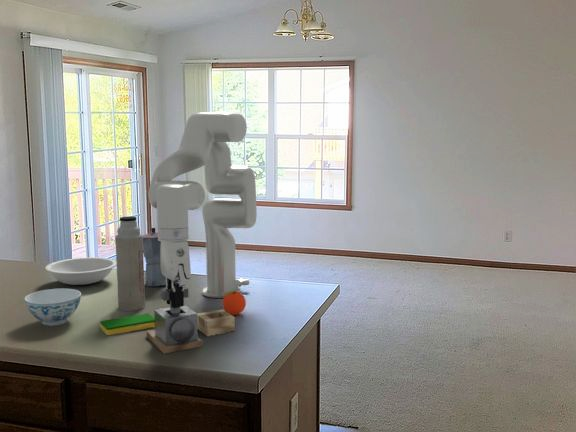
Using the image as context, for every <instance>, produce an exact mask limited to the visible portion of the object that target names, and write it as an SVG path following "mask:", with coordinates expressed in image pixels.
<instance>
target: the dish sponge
mask: <svg viewBox="0 0 576 432" xmlns="http://www.w3.org/2000/svg"><path fill="white" fill-rule="evenodd" d="M99 327H100V329H101V331H103V333H104V334H105V335H107V336H112V335H116V334H117V335H118V334H123V333H128V332H132V331H133V332H134V331H140V330H144V329H149V328H150V327H151V328H155V316H154V315H152V314H150V313H149V312H147V313H143V314H142V313H140V314H136V315H130V316H123V317H118V318H111V319H106V320H100V324H99Z"/></svg>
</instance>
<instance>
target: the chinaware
mask: <svg viewBox="0 0 576 432" xmlns="http://www.w3.org/2000/svg"><path fill="white" fill-rule="evenodd" d="M81 299H82V293H81V291H79V290H78V289H74V288H52V289H51V288H50V289H43V290H37V291H34V292H32V293H30V294H27V295H26V296H25V297H24V303H25V306H26V308H27V310H28V312H29V313H30V314H31V316H32V317H34V318H36V320H39V321H41V324H42V325H44V326H49V327H51V326H58V325H59V326H60V325H63V324H65V323H67V322H68V319H69V318H70V317H72V315H73V314H74V313H75V312H76V310H77V309H78V307H79V305H80V302H81Z"/></svg>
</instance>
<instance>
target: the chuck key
mask: <svg viewBox="0 0 576 432" xmlns="http://www.w3.org/2000/svg"><path fill="white" fill-rule="evenodd" d="M171 292H172V289H168V288H166V289H161V290H160V297H161V298H160V299H161V300H162V301H164V302H167V300H170V304H169V308H170V315H175V314H181V311H180V307H176V308H172V307H171ZM183 292H184V299H186V298H189V288H188V287H186V286H184V291H183Z"/></svg>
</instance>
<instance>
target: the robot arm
mask: <svg viewBox="0 0 576 432" xmlns="http://www.w3.org/2000/svg"><path fill="white" fill-rule="evenodd" d="M247 129H248V127H247V122H246V119H245V117H244V116H243V114H241V113H236V112H235V113H233V112H228V111H227V112H226V111H221V112H219V111H216V112H215V111H213V112H211V111H209V112H208V111H206V112H205V111H204V112H203V111H201V112H196V113H192V114H191V115H190V116H189V117H188V119H187V120H186V123H185V128H184V131H183V134H182V138H181V140H180V143H179V147H178V149H177V150H176V151H174V152H172V153H171V154H170V155H168V156H167V157H166V158H165V159H164V160H163V161H161V162H160V163H159V164H158V165H157V167H156V168H155V170H154V172H153V175H152V177H151V181H150V184H149V188H148V201H149V204H150V205H151V206H152V208H154V209H156V215H157V219H156V220H157V222H156V223H157V233H158V241H161V245H160V266H161V273H162V274H163V275H164V276H165V278H166V279H165V280H166V285H165V288H166V289H172V292H171V307H172V308H176V307H182V306H184V305H185V302H184V299H185V298H184V292H183V291H184V287H186V284H187V283H186V280H190V279H191V277H192V274H191V273H192V272H191V260H190V250H189V242H188V240H189V211H194V210H198V209H199V208H200V207H201V206H202V205H203V206H202V210H201V211H202V212H201V213H202V214H201V215H202V219H203V225H204V232H205V233H204V234H205V253H206V255H205V256H206V257H205V259H206V287H204V288H203V289H202V292H201V293H202V294H201V295H203V296H204V297H206V298H207V297H208V298H211V299H212V298H214V299H223V298H224V297H225V296H224V294H225V293H226V292H227V293H226V294H228V293H229V292H228V291H236V292H239V293H241V287H242V286H249V285H250V280H249V279H248V278H246V279H243V278H240V279H238V278H236V272H237V271H236V267H237V266H236V240H235V238H234V236H233V234H232V233H231V231H230V230H229V229H250V228H253V227H254V226H255V225H256V223H257V210H258V209H257V194H256V192H257V191H256V190H257V189H256V176H255V172H254V170H253V169H252V168H251V167H250V166H246V165H233V164H232V159H231V158H232V157H231V155H232V154H231V153H232V152H231V148H230V147H229V144H228V143H239V142H242V141H244V139H245V137H246V135H247ZM201 167H204V181H205V188H206V190H207V192H208V193H209V194H211V195H215V196H236V197H237V196H238V198H225V197H224V198H219V197H218V198H210V199H208V200H206V201H205V198H206V193H205V189H204V186H202V184H201V183H199V182H197V181H193V180H173V179H176V178H177V177H178V176H181V175H183V174H187V173H190V172H192V171H195V170H198V169H199V168H201ZM226 294H225V295H226ZM166 304H167V305H170V300H166Z"/></svg>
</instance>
